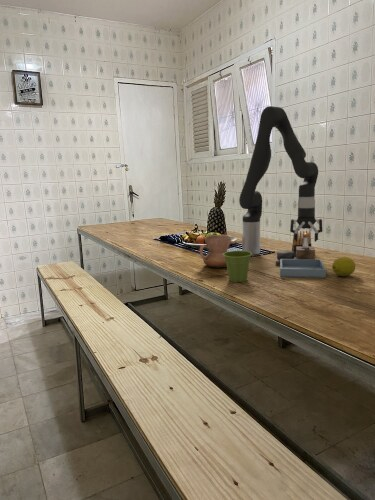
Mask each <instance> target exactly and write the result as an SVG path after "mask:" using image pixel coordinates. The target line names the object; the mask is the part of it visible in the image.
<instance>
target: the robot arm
mask: <svg viewBox="0 0 375 500" xmlns="http://www.w3.org/2000/svg"><path fill="white" fill-rule="evenodd" d="M273 128H275V129H277V131H278V132H279V134H280V135H281V137H282V140H283V141H282V143H283V147H284V150H285V152H286V154H287V155H288V157H289V159H290V160H291V163H292V167H293V170H294V173H295V175H296V176H297V177H299V178H301V179H303V182H302V183H300V184H299V186H298V199H297V200H298V201H297V219H293V218H291V219H290V229H289V232H290V233H293V235H294V240H296V242H297V232H298V233H299V232H300V230H301V229H302V230H304V229H308V230H310V229H312V230H313V232H314V240H313V241H314V242H317V241H318V240H319V233H322V232H323V219H321V218H317V219H316V199H315V196H316V195H315V193H316V192H315V191H316V189H315V188H316V184H317V181H318V178H319V167H318V165H317V164H316V163H315V162H313V161H306V159H305V158H306V157H307V153H306V150H305V149H304V148H303V146H302V144H301V143H300V141H299V140H298V138H297V135H296V134H295V131H294V129H293V127H292V125H291V122H290V120H289V116H288V115H287V112H286V110H284V108H283V107H279V106H272V105H270V106H269V105H267V106H266V107H264V108H263V110H262V112H261V114H260V118H259V123H258V130H257V137H256V139H255V144H254V148H253V153H252V155H251V159H250V163H249V167H248V171H247V174H246V177H245V180H244V183H243V186H242V189H241V192H240V195H239V199H238V201H239V202H238V203H239V205H240V208H242V209H243V210H247V211H246V213H245V214H244V215H243V216H242V236H241V239H242V241H241V243H242V245H241V246H242V250H241V251H248V252H251V253H252V255H251V256H253V255H259V254H261V217H262V214H263V197H262V194H261V193H260V191H259V190H256V189H257V186H258V184H259V182H260V181H261V179H262V178H263V177H264V175H265V174H266V173H267V171H268V168H269V166H270V162H271V159H272V149H271V148H272V147H271V141H270V139H271V134H272V132H273V131H272V130H273ZM316 223H317V225H318V229H317V228H316V227H315V224H316ZM295 224H297V227H296V228H295V229H294V225H295Z"/></svg>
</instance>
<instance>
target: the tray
mask: <svg viewBox="0 0 375 500" xmlns="http://www.w3.org/2000/svg"><path fill="white" fill-rule="evenodd" d="M279 271H280V272H279V277H280V278H307V279H308V278H309V279H310V278H313V279H314V278H315V279H326V278H327V269H326V266H325V264H324V262H323V259H319V258H317V259H316V258H315V259H280V265H279Z"/></svg>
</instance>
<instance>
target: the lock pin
mask: <svg viewBox="0 0 375 500" xmlns="http://www.w3.org/2000/svg"><path fill="white" fill-rule="evenodd" d="M301 233H302V236H303V249H308V236H309V232H308V233H306V232H304V233H303V232H301Z"/></svg>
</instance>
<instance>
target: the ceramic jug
mask: <svg viewBox="0 0 375 500" xmlns="http://www.w3.org/2000/svg"><path fill="white" fill-rule="evenodd" d="M204 242H205V244H202V245H200V246H199V255H200V257H201V258H202V260H203V264H204V265H206V266H208V267H211V268H219V269H221V268H227V265H226V261H225V258H224V256H223V253H225V252H228V250H229V247H230V245H231V244H232V245H235V244H236V243H235V241H234V240H232V236H231V235H229V234H215V235H209V236H205V237H204ZM205 248H206V249H208V251H209V252H208V253H207V254H206V255H204V249H205Z"/></svg>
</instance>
